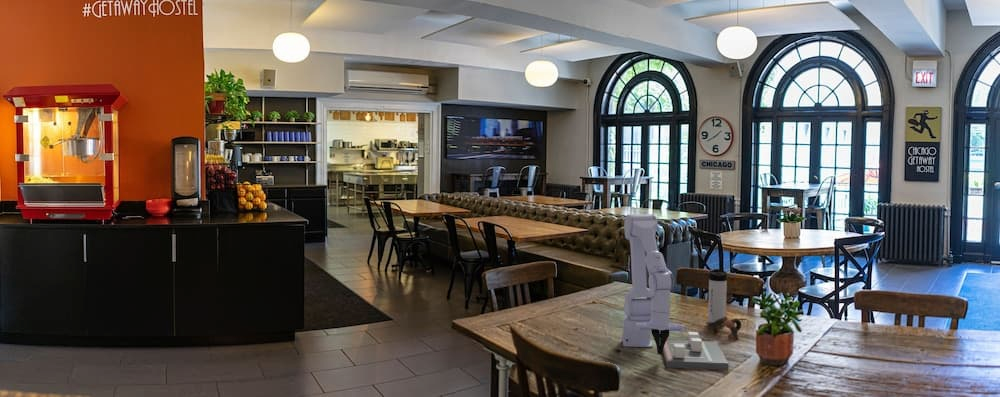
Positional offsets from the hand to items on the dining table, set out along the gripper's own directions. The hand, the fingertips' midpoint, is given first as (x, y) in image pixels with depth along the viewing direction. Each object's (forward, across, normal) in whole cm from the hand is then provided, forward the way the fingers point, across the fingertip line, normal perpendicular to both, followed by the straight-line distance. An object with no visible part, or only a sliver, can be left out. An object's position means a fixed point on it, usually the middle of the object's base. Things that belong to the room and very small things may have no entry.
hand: (659, 353), depth 218 cm
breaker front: (+1, +6, 0) cm, 6 cm away
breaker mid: (+1, +12, +7) cm, 14 cm away
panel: (+3, +11, +7) cm, 13 cm away
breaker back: (+1, +12, +14) cm, 18 cm away
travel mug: (+3, +25, +48) cm, 54 cm away
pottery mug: (+3, +25, +31) cm, 40 cm away
